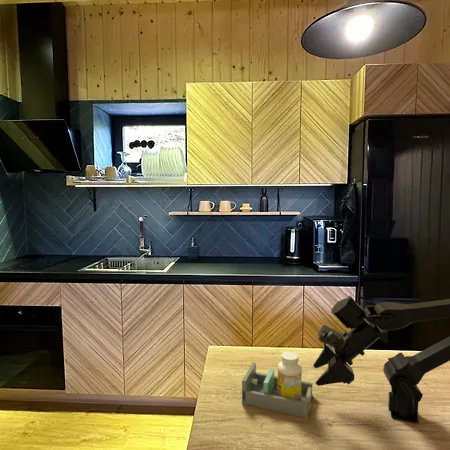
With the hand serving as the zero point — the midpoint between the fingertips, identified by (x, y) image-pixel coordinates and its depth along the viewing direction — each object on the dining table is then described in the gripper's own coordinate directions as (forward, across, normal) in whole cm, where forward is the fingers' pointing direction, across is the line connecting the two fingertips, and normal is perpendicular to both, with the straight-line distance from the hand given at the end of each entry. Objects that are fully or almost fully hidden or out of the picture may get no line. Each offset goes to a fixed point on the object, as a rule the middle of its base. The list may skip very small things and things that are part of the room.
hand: (315, 375), depth 98 cm
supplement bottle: (+11, 0, 0) cm, 11 cm away
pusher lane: (+13, -1, -1) cm, 13 cm away
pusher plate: (+14, -1, -4) cm, 15 cm away
